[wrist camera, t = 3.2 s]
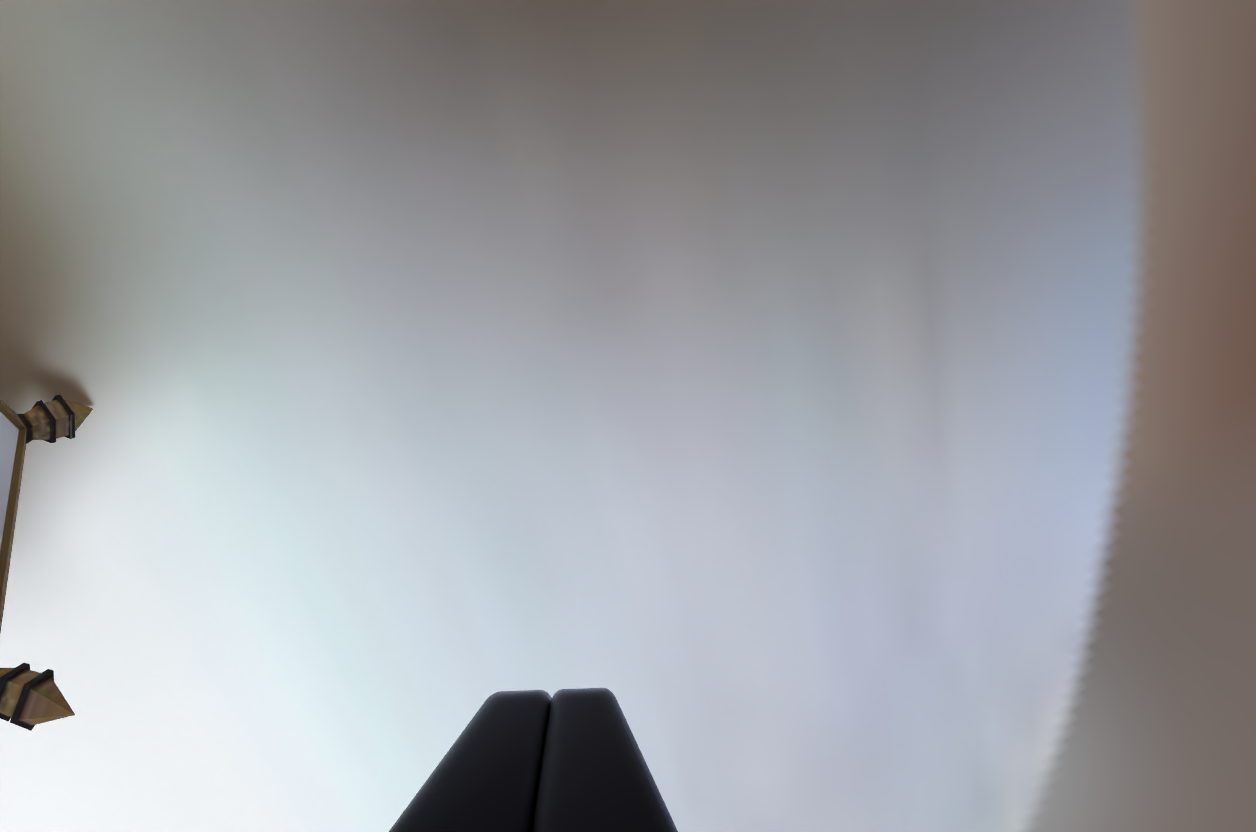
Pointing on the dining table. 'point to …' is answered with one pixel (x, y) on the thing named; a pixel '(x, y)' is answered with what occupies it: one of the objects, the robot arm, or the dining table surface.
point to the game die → (3, 458)
